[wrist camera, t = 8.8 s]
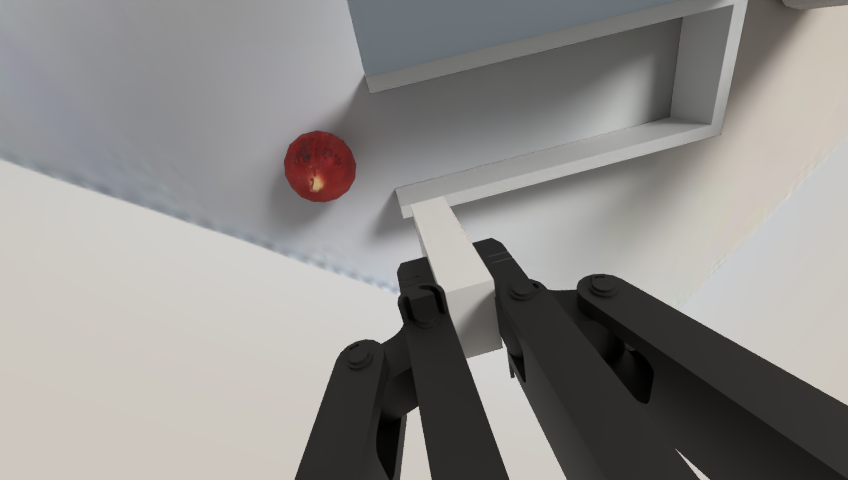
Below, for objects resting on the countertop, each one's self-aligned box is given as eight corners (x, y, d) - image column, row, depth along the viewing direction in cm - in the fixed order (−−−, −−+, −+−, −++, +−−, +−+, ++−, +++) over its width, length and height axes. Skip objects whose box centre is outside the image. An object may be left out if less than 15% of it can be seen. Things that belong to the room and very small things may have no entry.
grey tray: (364, 73, 30) (365, 76, 26) (697, -8, 32) (751, -18, 28) (397, 199, 36) (403, 218, 32) (678, 125, 38) (720, 134, 33)
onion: (281, 133, 31) (259, 158, 25) (343, 116, 32) (338, 135, 25) (307, 192, 34) (294, 228, 27) (363, 175, 35) (365, 207, 28)
